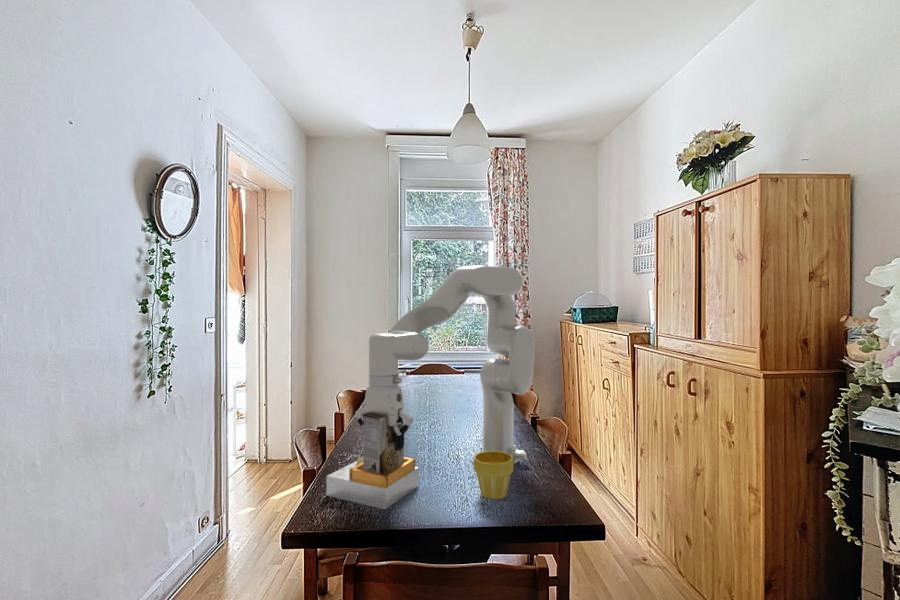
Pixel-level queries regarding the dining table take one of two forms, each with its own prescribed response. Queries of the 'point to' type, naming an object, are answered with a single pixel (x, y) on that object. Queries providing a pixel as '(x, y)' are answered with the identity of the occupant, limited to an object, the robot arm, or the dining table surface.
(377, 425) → the coffee box
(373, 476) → the white and orange tray
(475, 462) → the plant pot
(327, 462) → the dining table surface
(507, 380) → the robot arm
